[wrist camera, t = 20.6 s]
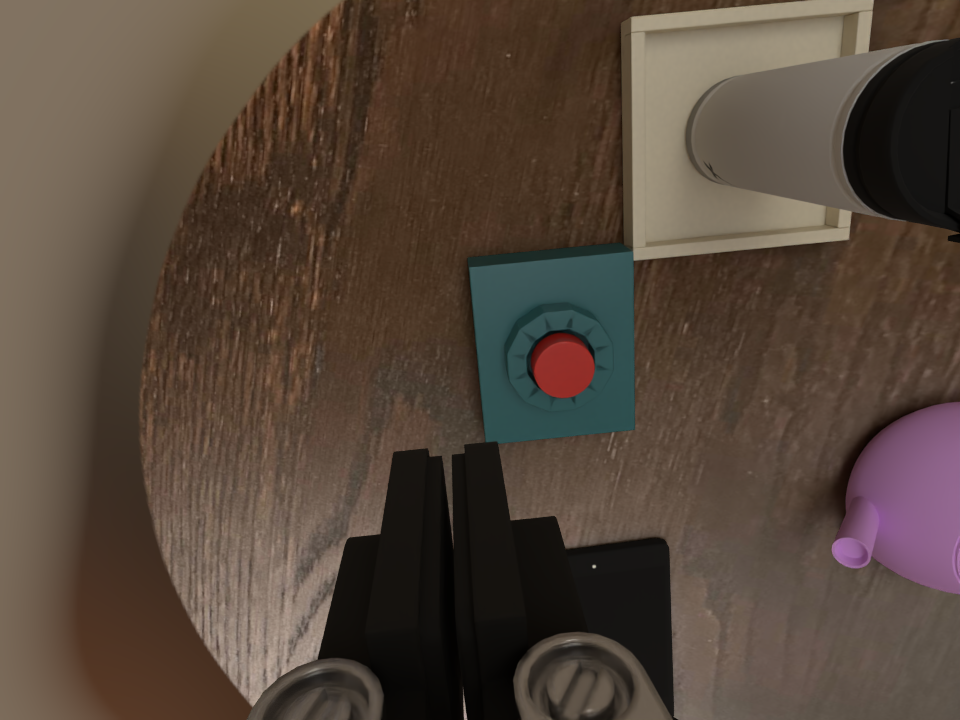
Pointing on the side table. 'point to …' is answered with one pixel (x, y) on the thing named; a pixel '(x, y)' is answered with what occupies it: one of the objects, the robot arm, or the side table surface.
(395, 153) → the side table surface
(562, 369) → the button
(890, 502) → the teapot
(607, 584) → the cell phone
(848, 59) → the travel mug
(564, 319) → the block
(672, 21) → the tray
